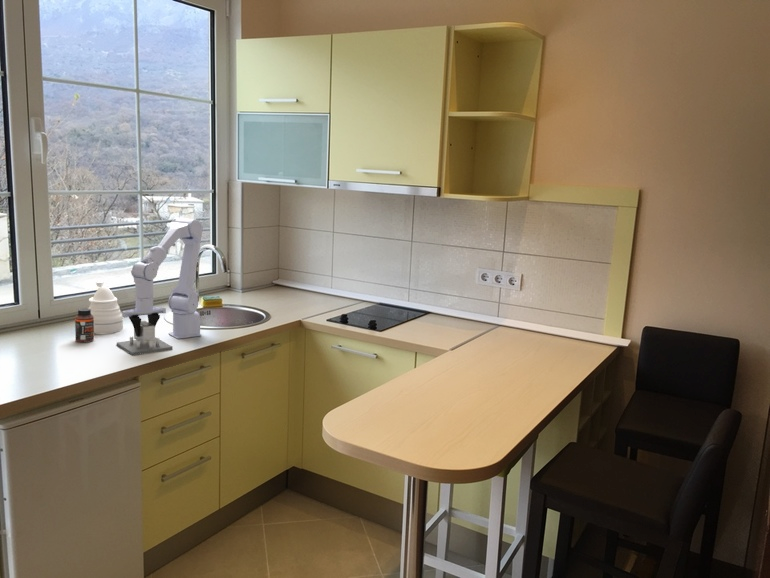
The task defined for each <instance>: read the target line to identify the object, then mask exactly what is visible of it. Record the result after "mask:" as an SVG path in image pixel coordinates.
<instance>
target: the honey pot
mask: <svg viewBox="0 0 770 578" xmlns="http://www.w3.org/2000/svg"><path fill="white" fill-rule="evenodd" d="M95 284H96V287H98V289H97V290H96V291H95V292H94V295H93V296H92V297H90V298H89V299H88V302H89V306H88V308H87V309H91V315H93V317H94V334H98V333H105V334H113V332H114V333H118V332H120V331H122V330H123V328H124V325H123V324H124V322H123V320H124V317H122V310H121V309H120V308H121V307H120V305H119V304H118V298H117V297H116V296H115V295H114V292H113V291H112V290H111V289H110V288H109V287H108V286H106V285H104V281H102V280H100V281H98V280H97V281H96V282H95Z"/></svg>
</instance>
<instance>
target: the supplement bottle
mask: <svg viewBox="0 0 770 578" xmlns="http://www.w3.org/2000/svg"><path fill="white" fill-rule="evenodd" d="M77 313H78V314H77V315H75V318H74V322H75V323H74V326H75V327H74V328H75V330H74V332H75V341H76V342H78V343H89V342H92V341H94V340H95V339H94V338H95V333H94V317H93V315H91V309H88V308H84V307H83V308H79V309H77Z"/></svg>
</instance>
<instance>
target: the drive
mask: <svg viewBox="0 0 770 578" xmlns="http://www.w3.org/2000/svg"><path fill="white" fill-rule="evenodd" d="M133 334H134V335H133V340H137V341H140V342H141V343H142V344H148V343H149V341H153V343H155V337H156V326H154V325H152V324H151V323H149V322H148V320H141V324H140V337H137V336H136V334H135V330H134V329H133Z"/></svg>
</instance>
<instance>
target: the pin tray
mask: <svg viewBox="0 0 770 578" xmlns="http://www.w3.org/2000/svg"><path fill="white" fill-rule="evenodd" d="M116 346H117V347H119V348H120V349H122V350H123V351H125V352H126V353H128V354H129V355H130V356H139V355H145V354H153V353H159V352H165V350H166V351H172V350H171V349H173V346H172V345H170V344H169V343H166V342H165V341H164V340H161V339H160V338H159V337H156V336H155V343H153V341H149V343H148V344H142V343H141V342H140V341H137V340H136V339H134V336H129V340H126V341H125V340H123V341H120V342H119V341H118V342H116Z"/></svg>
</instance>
